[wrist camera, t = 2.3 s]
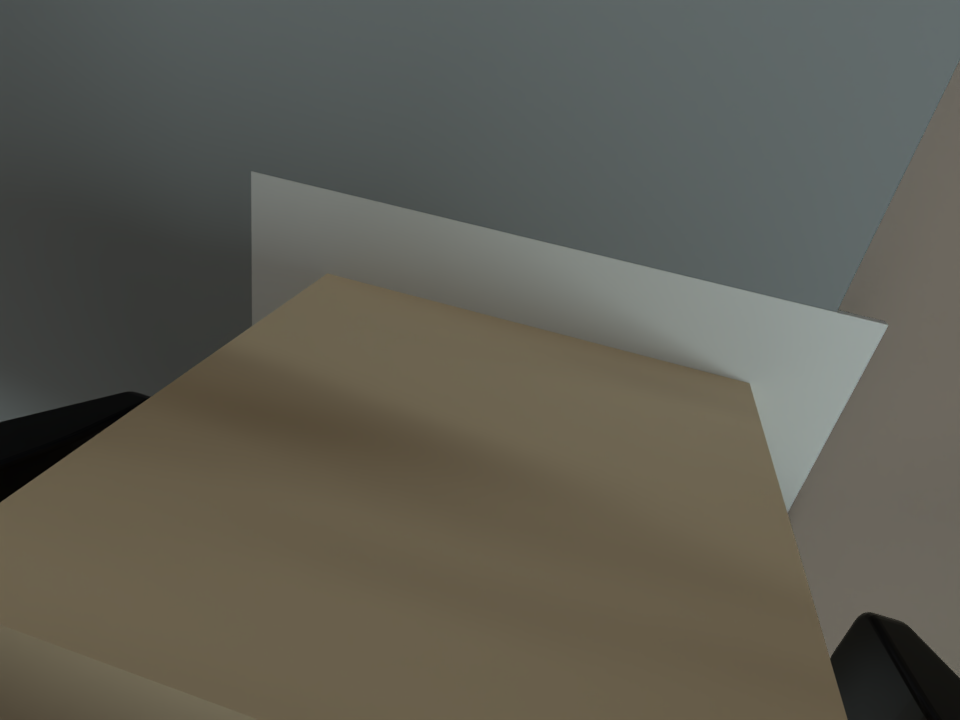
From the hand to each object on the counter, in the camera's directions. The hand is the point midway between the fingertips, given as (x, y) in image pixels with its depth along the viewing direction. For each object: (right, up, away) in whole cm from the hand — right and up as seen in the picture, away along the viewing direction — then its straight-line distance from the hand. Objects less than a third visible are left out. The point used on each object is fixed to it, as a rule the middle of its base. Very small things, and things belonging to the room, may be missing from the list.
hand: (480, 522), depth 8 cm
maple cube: (0, 0, +1) cm, 1 cm away
